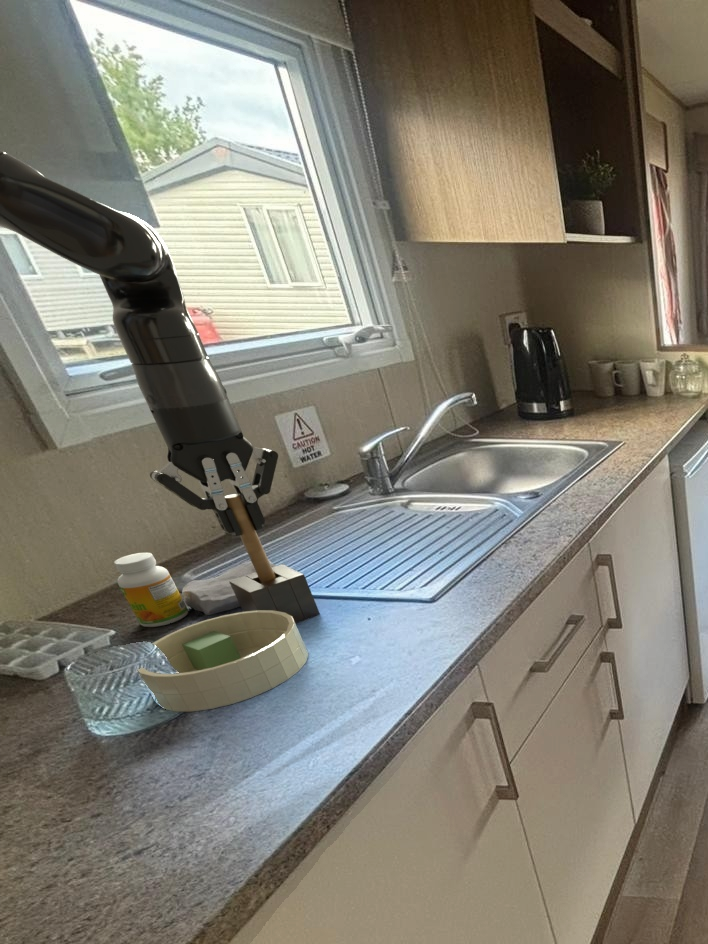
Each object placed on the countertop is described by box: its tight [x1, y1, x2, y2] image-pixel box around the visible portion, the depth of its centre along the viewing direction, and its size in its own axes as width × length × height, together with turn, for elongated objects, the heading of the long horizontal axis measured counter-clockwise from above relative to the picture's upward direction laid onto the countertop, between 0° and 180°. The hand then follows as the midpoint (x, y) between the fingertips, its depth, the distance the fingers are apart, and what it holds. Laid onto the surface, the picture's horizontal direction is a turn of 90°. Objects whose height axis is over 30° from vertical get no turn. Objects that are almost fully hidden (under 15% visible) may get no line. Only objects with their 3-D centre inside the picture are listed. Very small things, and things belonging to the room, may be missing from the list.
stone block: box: [181, 560, 277, 616], centre depth 100 cm, size 12×5×10 cm
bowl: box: [137, 610, 309, 713], centre depth 81 cm, size 15×15×6 cm
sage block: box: [182, 631, 241, 670], centre depth 83 cm, size 4×4×4 cm
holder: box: [229, 563, 321, 625], centre depth 93 cm, size 7×7×7 cm
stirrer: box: [224, 493, 276, 583], centre depth 89 cm, size 2×2×16 cm
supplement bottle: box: [113, 552, 189, 628], centre depth 93 cm, size 5×5×10 cm
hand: (246, 531), depth 88 cm, fingers closed on stirrer, 2 cm apart
